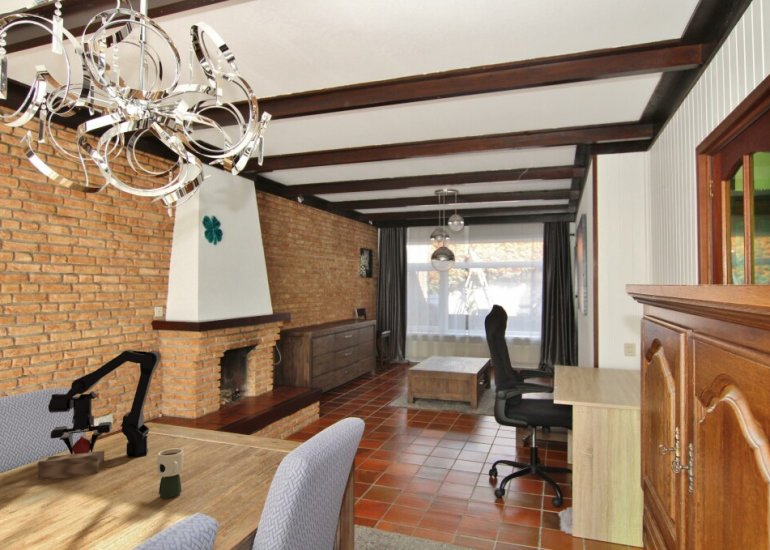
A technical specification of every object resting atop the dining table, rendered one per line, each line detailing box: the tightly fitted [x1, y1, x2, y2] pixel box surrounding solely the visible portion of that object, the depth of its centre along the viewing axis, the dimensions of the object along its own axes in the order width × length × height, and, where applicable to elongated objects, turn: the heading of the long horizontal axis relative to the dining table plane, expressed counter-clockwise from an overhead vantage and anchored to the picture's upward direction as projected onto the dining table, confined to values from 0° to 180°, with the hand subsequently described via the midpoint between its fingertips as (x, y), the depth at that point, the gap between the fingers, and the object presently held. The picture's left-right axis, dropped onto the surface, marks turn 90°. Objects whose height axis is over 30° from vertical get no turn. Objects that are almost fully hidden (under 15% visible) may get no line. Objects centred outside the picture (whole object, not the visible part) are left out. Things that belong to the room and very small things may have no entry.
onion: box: [73, 435, 91, 454], centre depth 175 cm, size 6×6×8 cm
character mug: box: [156, 447, 184, 499], centre depth 142 cm, size 11×7×13 cm, turn 41°
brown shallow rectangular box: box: [37, 450, 105, 481], centre depth 162 cm, size 17×12×6 cm
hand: (82, 453), depth 175 cm, fingers closed on onion, 6 cm apart
